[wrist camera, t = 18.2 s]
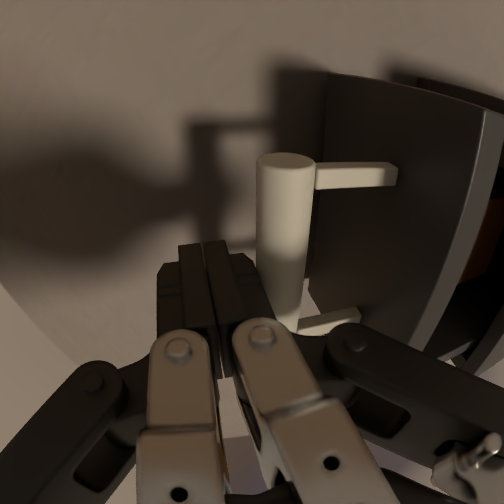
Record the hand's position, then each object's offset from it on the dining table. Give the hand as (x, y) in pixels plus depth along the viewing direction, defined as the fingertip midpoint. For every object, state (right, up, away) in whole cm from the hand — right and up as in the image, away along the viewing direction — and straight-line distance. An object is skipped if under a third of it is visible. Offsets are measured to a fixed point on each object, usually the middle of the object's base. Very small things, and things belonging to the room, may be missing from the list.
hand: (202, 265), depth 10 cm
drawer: (+9, +4, +5) cm, 11 cm away
